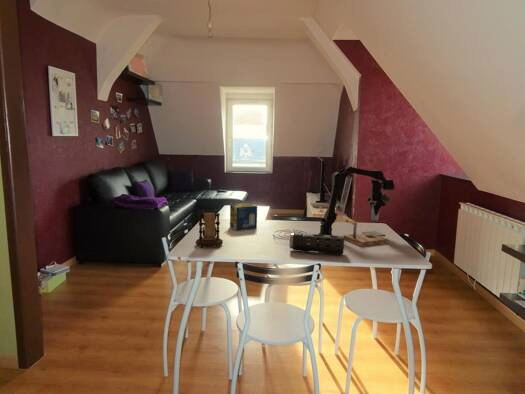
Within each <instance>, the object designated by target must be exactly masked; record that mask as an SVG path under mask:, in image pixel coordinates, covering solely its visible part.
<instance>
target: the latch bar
mask: <svg viewBox="0 0 525 394" xmlns="http://www.w3.org/2000/svg"><path fill="white" fill-rule="evenodd" d="M342 217H343V219H344V220H345V221H347V222H349V223H350V224H352V225H353V233H352V234H353V238H356V234H357V227H358V226H357V225H358V222H356V221H355V220H353V219H351V218H350V217H348V216H347V215H343V216H342Z"/></svg>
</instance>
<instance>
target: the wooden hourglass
mask: <svg viewBox="0 0 525 394" xmlns="http://www.w3.org/2000/svg"><path fill="white" fill-rule="evenodd" d="M220 216H221V214H220V212H217V210H216V209H214V212H205V211H204V210H202V212H201V213H198V217H199V220H198V226H199V231H198V233H199V234H198V235H199V236H198V239H196V240H195V245H197V246H200V249H203V248H206V247H207V248H208V247H210V248H212V247H218V248H220V247H221V245H222V244H223V243H224V242H223V241H224V240H223V239H222V238H220V232H221V231H220V224H221V222H220Z"/></svg>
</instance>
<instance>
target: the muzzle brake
mask: <svg viewBox="0 0 525 394" xmlns="http://www.w3.org/2000/svg"><path fill="white" fill-rule="evenodd" d="M344 246H345V240H344V235H343V236H342V235H332V236H331V235H320V234H319V233H317V234H316V233H315V234H314V233H305V234H304V233H303V232H297V231H295V232H291V233H290V236H289V249H292V250H294V251H301V252H302V253H309V252H316V253H319V254H325V255H326V254H327V255H338V256H342V255H343V254H344V251H345V249H344V248H345V247H344Z"/></svg>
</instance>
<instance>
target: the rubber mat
mask: <svg viewBox="0 0 525 394" xmlns="http://www.w3.org/2000/svg"><path fill="white" fill-rule="evenodd" d="M361 233H372V234H375V235H378V236H381V237H384V236H386V234H384V233H382V232H379V231H377V230H376V231H375V230H372V231H371V230H369V231H362V232H361Z"/></svg>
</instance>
